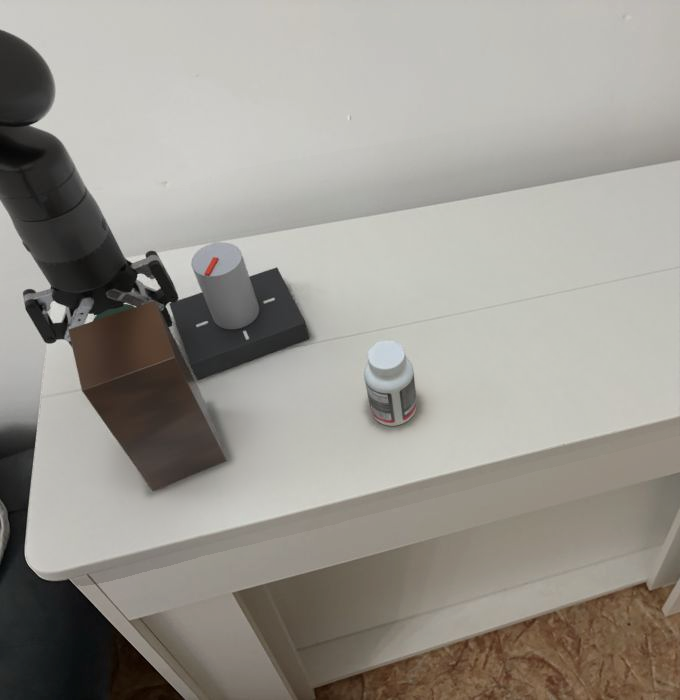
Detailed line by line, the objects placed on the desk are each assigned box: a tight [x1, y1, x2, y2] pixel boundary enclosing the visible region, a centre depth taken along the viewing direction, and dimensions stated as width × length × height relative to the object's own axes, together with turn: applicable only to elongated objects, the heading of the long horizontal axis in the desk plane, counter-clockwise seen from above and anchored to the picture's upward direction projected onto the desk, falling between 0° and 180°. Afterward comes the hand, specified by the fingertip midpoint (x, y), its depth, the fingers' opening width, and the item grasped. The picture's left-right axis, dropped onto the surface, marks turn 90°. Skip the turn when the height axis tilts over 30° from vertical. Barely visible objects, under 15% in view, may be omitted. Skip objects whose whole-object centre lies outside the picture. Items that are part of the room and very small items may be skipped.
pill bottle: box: [363, 339, 418, 427], centre depth 78 cm, size 5×5×10 cm
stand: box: [68, 301, 227, 492], centre depth 71 cm, size 8×8×18 cm
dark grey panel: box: [168, 266, 310, 381], centre depth 88 cm, size 14×11×3 cm
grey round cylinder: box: [190, 241, 259, 329], centre depth 84 cm, size 6×6×9 cm
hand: (127, 340), depth 82 cm, fingers open, 8 cm apart
